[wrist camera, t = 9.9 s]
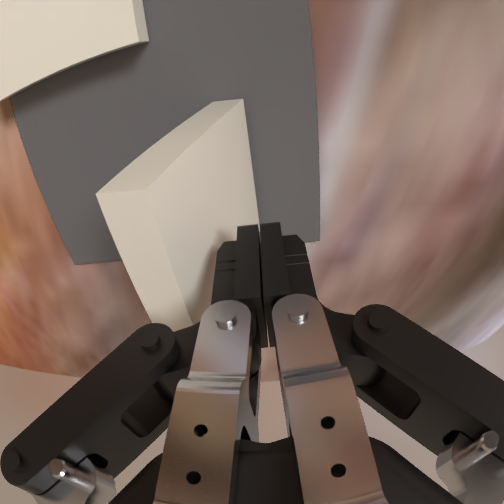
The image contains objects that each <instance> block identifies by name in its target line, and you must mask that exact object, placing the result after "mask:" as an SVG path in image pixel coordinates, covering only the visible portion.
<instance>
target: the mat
mask: <svg viewBox="0 0 504 504" xmlns="http://www.w3.org/2000/svg"><path fill="white" fill-rule="evenodd" d="M142 1H143V8H144V14H145V20H146V26H147V32H148V38H149V41H148V42H144V43H141V44H137V45H134V46H131V47H127V48H124V49H121V50H118V51H115V52H112V53H109V54H106V55H103V56H100V57H97V58H94V59H92V60H89V61H86V62H84V63H81V64H79V65H76V66H74V67H71V68H69V69H66V70H64V71H62V72H59V73H57V74H55V75H53V76H51V77H48V78H46V79H44V80H42V81H40V82H38V83H36V84H34V85H32V86H30V87H28V88H26V89H24V90H22V91H20V92H18V93H16V94H14V95H13V96H11V97H10V101H11V105H12V108H13V112H14V116H15V119H16V122H17V126H18V129H19V132H20V135H21V139H22V142H23V145H24V148H25V151H26V154H27V156H28V159H29V162H30V165H31V167H32V170H33V173H34V175H35V178H36V181H37V183H38V186H39V188H40V191H41V193H42V196H43V198H44V200H45V203H46V205H47V207H48V210H49V212H50V214H51V216H52V219H53V221H54V223H55V225H56V227H57V230H58V232H59V234H60V236H61V238H62V240H63V242H64V244H65V246H66V248H67V250H68V252H69V254H70V256H71V258H72V260H73V262H74V264H75V265H77V264H87V263H97V262H107V261H117V260H122V258H121V256H120V254H119V251H118V249H117V247H116V244H115V242H114V240H113V237H112V235H111V232H110V230H109V227H108V225H107V222H106V220H105V217H104V215H103V212H102V210H101V207H100V204H99V202H98V199H97V196H96V193H97V192H98V191H99V190H100V189H101V188H102V187H104V186H105V185H106V184H107V183H108V182H109V181H110V180H111V179H113V178H114V177H115V176H116V175H117V174H118V173H120V172H121V171H122V170H123V169H124V168H125V167H127V166H128V165H129V164H130V163H131V162H133V161H134V160H135V159H136V158H138V157H139V156H140V155H141V154H142V153H144V152H145V151H146V150H147V149H149V148H150V147H151V146H153V145H154V144H155V143H156V142H158V141H159V140H160V139H162V138H163V137H164V136H166V135H167V134H168V133H170V132H171V131H172V130H174V129H175V128H176V127H178V126H179V125H180V124H182V123H183V122H184V121H186V120H187V119H189V118H190V117H192V116H193V115H194V114H196V113H197V112H199V111H200V110H202V109H203V108H204V107H206V106H207V105H209V104H210V103H212V102H215V101H224V100H235V99H243V101H244V109H245V116H246V124H247V131H248V139H249V146H250V154H251V162H252V170H253V177H254V185H255V193H256V201H257V209H258V217H259V225H260V224H262V223H272V222H280V225H281V231H282V236H284V235H295V234H297V235H298V237H299V238H300V239H301V240H302V241H303V242H312V241H320V176H319V142H318V119H317V101H316V85H315V71H314V59H313V48H312V37H311V27H310V18H309V9H308V1H307V0H142ZM259 235H260V232H259ZM260 243H261V241H260Z"/></svg>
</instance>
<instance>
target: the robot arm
mask: <svg viewBox="0 0 504 504" xmlns="http://www.w3.org/2000/svg"><path fill="white" fill-rule="evenodd" d="M260 241H261V243H260ZM267 327H268V335H269V343H270V347H275V348H276V357H277V366H278V373H279V380H280V385H281V392H282V398H283V405H284V411H285V417H286V424H287V432H288V438H285V439H281V440H278V441H276V442H272V443H259V432H258V410H259V393H260V378H261V366H260V365H261V348H265V347H268V338H267ZM357 396H358V397H359V398H360V399H362V400H363V401H364V402H365V403H367V404H368V405H369V406H371V407H372V408H373V409H375V410H376V411H377V412H378V413H380V414H381V415H383V416H384V417H385V418H387V419H388V420H389V421H390V422H392V423H393V424H394V425H396V426H397V427H398V428H400V429H401V430H403V431H404V432H405V433H407V434H408V435H409V436H411V437H412V438H413V439H415V440H416V441H418V442H419V443H420V444H422V445H423V446H425V447H426V448H427V449H429V450H430V451H431V452H433V453H434V454H436V455H437V456H438V458H437V461H436V471H437V474H438V476H439V478H440V479H441V480H442V481H443V482H444V483H445V484H446V486H447V487H448V490H449V492H448V491H446V490H445V489H444V488H442V487H441V486H440V485H438V484H437V483H436V482H434V481H433V480H432V479H431V478H429V477H428V476H427V475H425V474H424V473H423V472H422V471H420V470H419V469H418V468H416V467H415V466H414V465H413V464H411V463H410V462H409V461H408V460H406V459H405V458H404V457H403V456H401V455H400V454H399V453H398V452H397V451H395V450H394V449H393V448H391V447H390V446H388V445H387V444H385V443H384V442H382V441H379V440H377V439H375V438H371V437H369V436H368V433H367V430H366V426H365V423H364V419H363V416H362V412H361V409H360V405H359V402H358V398H357ZM167 428H168V430H167V435H166V439H165V444H164V449H163V453H161V454H160V455H158V456H157V457H155V458H154V459H153V460H152V461H150V463H148V464H147V465H146V466H145V467H144V468H143V469H142V470H141V471H140V472H139V473H138V474H137V476H135V478H133V479H132V481H131V482H130V483H129V484H128V485H127V486H125V488H124V489H122V490H121V491H120V493H118V494H117V496H116V488H115V481H114V478H115V477H116V476H117V475H118V474H120V473H121V472H122V471H123V470H124V469H125V468H126V467H127V466H128V465H129V464H130V463H131V462H132V461H134V460H135V459H136V458H137V457H138V456H139V455H140V454H141V453H142V452H143V451H144V450H145V449H146V448H147V447H148V446H149V445H150V444H151V443H153V442H154V441H155V440H156V439H157V438H158V437H159V436H160V435H161V434H162V433H163V432H164V431H165V430H166V429H167ZM0 465H1V471H2V474H3V476H4V478H5V479H6V480H7V481H8V482H9V483H10V484H12V485H14V486H17V487H19V488H21V489H23V490H25V491H27V492H29V493H30V494H31V495H33V497H34V498H35V500H36V501H37V503H38V504H502V502H503V500H504V381H503V380H502V379H500V378H498V377H497V376H496V375H494V374H493V373H491V372H490V371H488V370H487V369H485V368H484V367H482V366H481V365H479V364H478V363H476V362H474V361H473V360H471V359H470V358H468V357H467V356H465V355H464V354H462V353H461V352H459V351H458V350H456V349H455V348H453V347H452V346H450V345H448V344H447V343H445V342H444V341H442V340H441V339H439V338H438V337H436V336H434V335H433V334H431V333H430V332H428V331H427V330H425V329H424V328H422V327H420V326H419V325H417V324H416V323H414V322H412V321H411V320H409V319H408V318H406V317H405V316H403V315H401V314H400V313H398V312H397V311H395V310H393V309H392V308H390V307H387V306H385V305H379V304H373V305H368V306H365V307H363V308H361V309H360V310H359V311H358V312H357V313H356V314H355V315H350V314H343V313H338V312H334V311H331V310H329V309H328V308H326V307H324V306H323V305H322V304H321V303H320V301H319V300H318V298H317V295H316V291H315V287H314V282H313V278H312V273H311V269H310V264H309V260H308V256H307V251H306V247H305V243H304V242H303V241H302V240H301V239H300V238H299V237H298V235H297V234H295V235H284V236H282V231H281V225H280V222H272V223H262V224H260V235H259V227H258V224H253V225H243V226H237V240H236V241H226V242H223V244H222V245H221V247H220V248H219V249H218V251H217V256H216V264H215V273H214V281H213V290H212V298H211V306H210V307H208V308H207V309H206V310H205V312H204V313H203V315H202V317H201V321H199V322H198V323H196V324H194V325H192V326H189V327H187V328H184V329H180V330H177V331H174V332H173V331H172V329H171V328H170V327H168V326H167V325H165V324H161V323H151V324H147V325H145V326H143V327H141V328H139V329H138V330H137V331H135V332H134V333H133V334H132V335H131V336H130V337H128V338H127V339H126V340H125V341H124V342H123V343H122V344H120V345H119V346H118V347H117V348H116V349H115V350H114V351H112V352H111V353H110V354H109V355H108V356H107V357H106V358H104V359H103V360H102V361H101V362H100V363H99V364H98V365H96V366H95V367H94V368H93V369H92V370H91V371H90V372H88V373H87V374H86V375H85V376H84V377H83V378H82V379H81V380H80V381H78V382H77V383H76V384H75V385H74V386H73V387H72V388H70V389H69V390H68V391H67V392H66V393H65V394H64V395H63V396H61V397H60V398H59V399H58V400H57V401H56V402H55V403H54V404H53V405H51V406H50V407H49V408H48V409H47V410H46V411H45V412H44V413H43V414H41V415H40V416H39V417H38V418H37V419H36V420H35V421H34V422H32V423H31V424H30V425H29V426H28V427H27V428H26V429H25V430H24V431H22V432H21V433H20V434H19V435H18V436H17V437H16V438H15V439H14V440H13V441H12V442H10V443H9V444H8V445H7V446H6V447H5V449H4V451H3V453H2V456H1V462H0Z"/></svg>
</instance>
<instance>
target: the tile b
mask: <svg viewBox="0 0 504 504" xmlns="http://www.w3.org/2000/svg"><path fill="white" fill-rule="evenodd" d="M96 196H97V199H98V202H99V204H100V207H101V210H102V212H103V215H104V217H105V220H106V222H107V225H108V227H109V230H110V232H111V235H112V237H113V240H114V242H115V244H116V247H117V249H118V251H119V254H120V256H121V258H122V261H123V263H124V265H125V267H126V270H127V272H128V274H129V276H130V278H131V280H132V283H133V285H134V287H135V289H136V291H137V293H138V295H139V297H140V299H141V301H142V304H143V306H144V308H145V310H146V312H147V314H148V316H149V318H150V319H151V321H152V323H161V324H165V325H167V326H168V327H170V328H171V329H172V331H173V332H174V331H177V330H180V329H184V328H187V327H189V326H192V325H194V324H196V323H198V322H199V321H201V317H202V315H203V313H204V312H205V310H206V309H207V308H208V307H210V306H211V298H212V290H213V281H214V273H215V264H216V256H217V251H218V249H219V248H220V247H221V245H222V244H223V242H226V241H236V240H237V226H243V225H253V224H258V227H259V232H260V225H259V217H258V209H257V201H256V193H255V185H254V177H253V170H252V162H251V154H250V146H249V139H248V131H247V124H246V116H245V109H244V101H243V99H235V100H224V101H215V102H212V103H210V104H209V105H207V106H206V107H204V108H203V109H202V110H200V111H199V112H197V113H196V114H194V115H193V116H192V117H190V118H189V119H187V120H186V121H184V122H183V123H182V124H180V125H179V126H178V127H176V128H175V129H174V130H172V131H171V132H170V133H168V134H167V135H166V136H164V137H163V138H162V139H160V140H159V141H158V142H156V143H155V144H154V145H153V146H151V147H150V148H149V149H147V150H146V151H145V152H144V153H142V154H141V155H140V156H139V157H138V158H136V159H135V160H134V161H133V162H131V163H130V164H129V165H128V166H127V167H125V168H124V169H123V170H122V171H121V172H120V173H118V174H117V175H116V176H115V177H114V178H113V179H111V180H110V181H109V182H108V183H107V184H106V185H105V186H104V187H102V188H101V189H100V190H99V191H98V192H97V193H96Z"/></svg>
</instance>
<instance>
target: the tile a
mask: <svg viewBox="0 0 504 504" xmlns="http://www.w3.org/2000/svg"><path fill="white" fill-rule="evenodd" d="M148 41H149V38H148V32H147V26H146V20H145V14H144V8H143V1H142V0H0V101H2V100H5V99H7V98H9V97H11V96H13V95H14V94H16V93H18V92H20V91H22V90H24V89H26V88H28V87H30V86H32V85H34V84H36V83H38V82H40V81H42V80H44V79H46V78H48V77H51V76H53V75H55V74H57V73H59V72H62V71H64V70H66V69H69V68H71V67H74V66H76V65H79V64H81V63H84V62H86V61H89V60H92V59H94V58H97V57H100V56H103V55H106V54H109V53H112V52H115V51H118V50H121V49H124V48H127V47H131V46H134V45H137V44H141V43H144V42H148Z"/></svg>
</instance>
